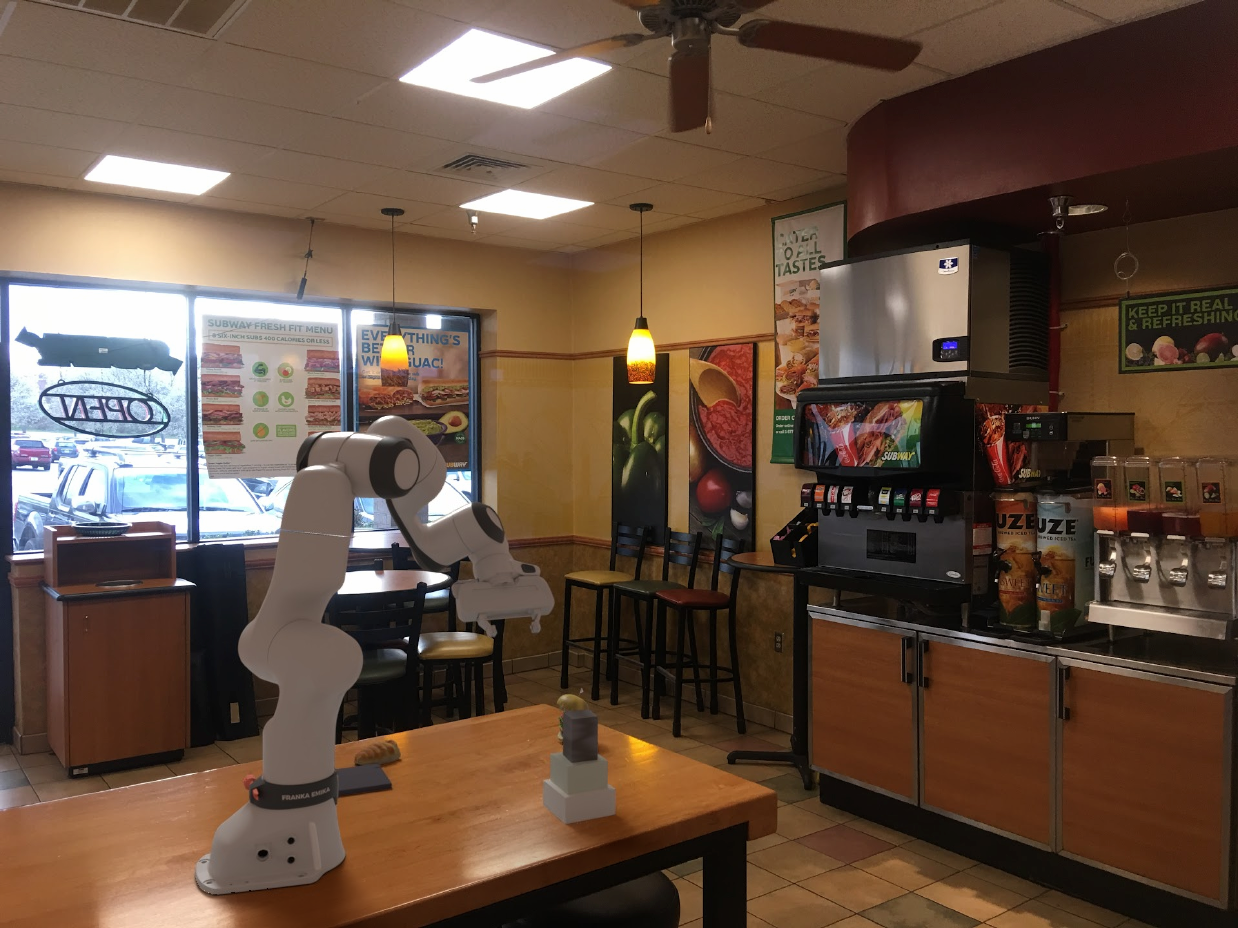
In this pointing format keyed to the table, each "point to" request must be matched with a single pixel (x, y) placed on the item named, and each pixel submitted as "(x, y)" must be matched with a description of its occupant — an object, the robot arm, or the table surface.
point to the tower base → (578, 803)
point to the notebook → (362, 779)
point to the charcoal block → (580, 735)
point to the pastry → (378, 753)
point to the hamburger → (569, 707)
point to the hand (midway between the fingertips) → (514, 633)
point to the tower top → (578, 774)
